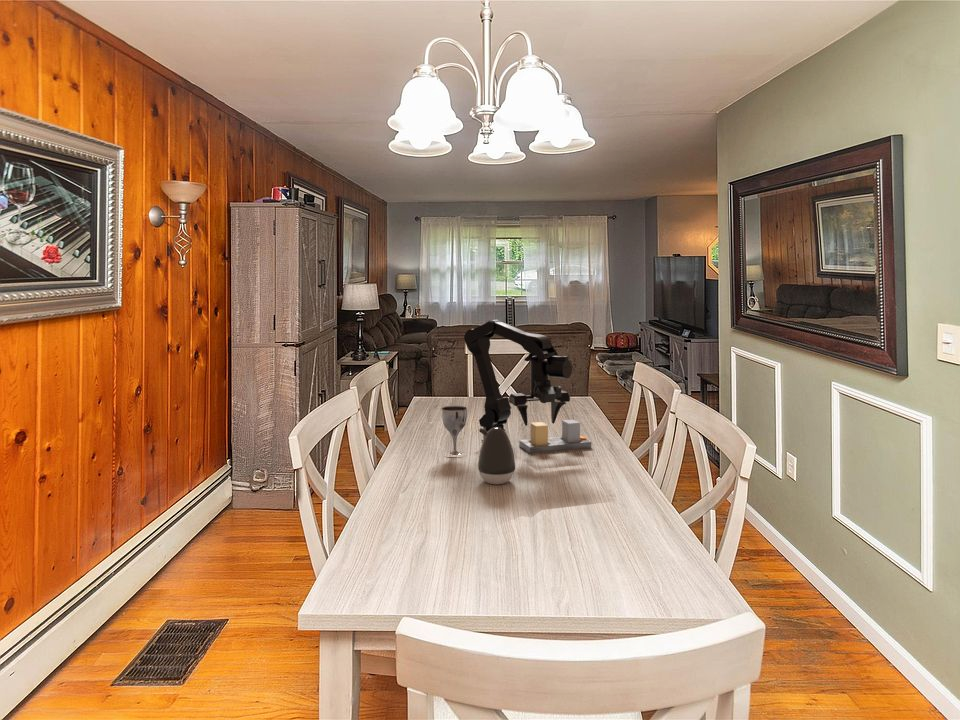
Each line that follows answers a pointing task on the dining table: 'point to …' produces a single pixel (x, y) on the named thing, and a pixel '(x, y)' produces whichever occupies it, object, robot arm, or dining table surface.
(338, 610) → the dining table surface
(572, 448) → the grey socket board
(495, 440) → the dark grey egg shape
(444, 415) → the wine glass
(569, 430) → the grey-blue plug
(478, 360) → the robot arm
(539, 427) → the ochre plug
